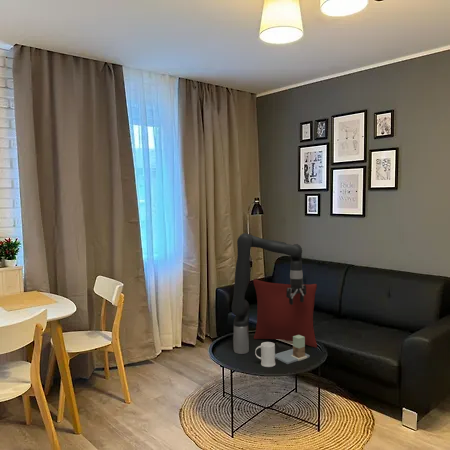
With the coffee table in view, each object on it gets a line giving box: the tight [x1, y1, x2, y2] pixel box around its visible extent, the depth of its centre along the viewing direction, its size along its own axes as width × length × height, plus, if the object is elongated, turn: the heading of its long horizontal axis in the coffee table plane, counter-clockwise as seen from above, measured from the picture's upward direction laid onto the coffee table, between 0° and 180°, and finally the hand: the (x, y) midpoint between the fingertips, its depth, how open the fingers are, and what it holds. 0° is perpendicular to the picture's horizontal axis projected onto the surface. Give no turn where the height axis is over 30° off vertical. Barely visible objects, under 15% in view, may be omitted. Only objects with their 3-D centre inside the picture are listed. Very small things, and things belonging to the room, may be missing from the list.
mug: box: [254, 341, 276, 368], centre depth 256 cm, size 12×8×12 cm
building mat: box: [275, 348, 311, 365], centre depth 265 cm, size 14×18×1 cm
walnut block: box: [292, 345, 306, 358], centre depth 264 cm, size 5×5×6 cm
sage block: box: [292, 335, 306, 348], centre depth 263 cm, size 5×5×6 cm
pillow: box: [252, 278, 318, 349], centre depth 288 cm, size 44×15×42 cm, turn 65°
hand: (296, 303), depth 267 cm, fingers open, 8 cm apart
